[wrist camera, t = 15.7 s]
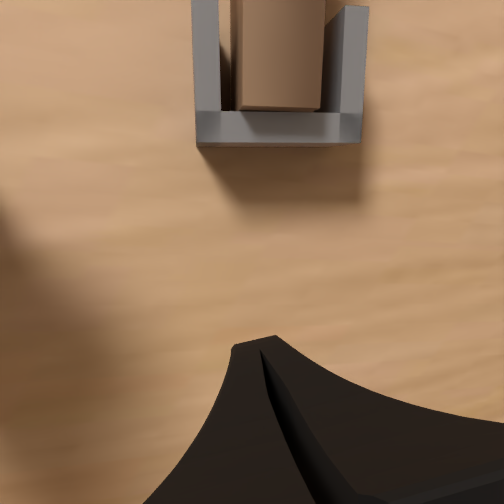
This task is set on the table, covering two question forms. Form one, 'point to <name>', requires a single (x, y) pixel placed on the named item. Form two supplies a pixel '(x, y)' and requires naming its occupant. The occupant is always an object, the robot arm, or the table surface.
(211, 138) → the gray u-shaped clamp
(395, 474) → the robot arm
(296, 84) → the slat
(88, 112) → the table surface
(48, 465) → the table surface
